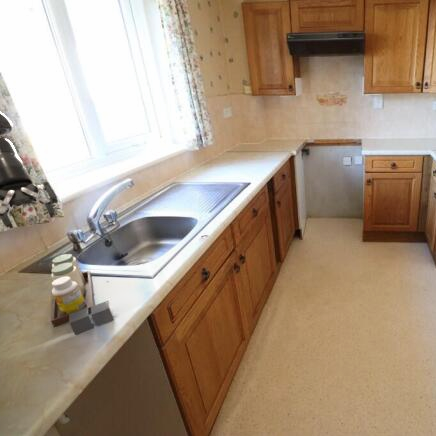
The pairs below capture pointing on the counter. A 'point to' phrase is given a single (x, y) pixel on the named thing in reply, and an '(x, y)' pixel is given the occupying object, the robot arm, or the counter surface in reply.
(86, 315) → the grey blocks
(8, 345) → the counter surface
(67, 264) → the cream bottles
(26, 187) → the robot arm
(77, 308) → the supplement bottle
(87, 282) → the tray
